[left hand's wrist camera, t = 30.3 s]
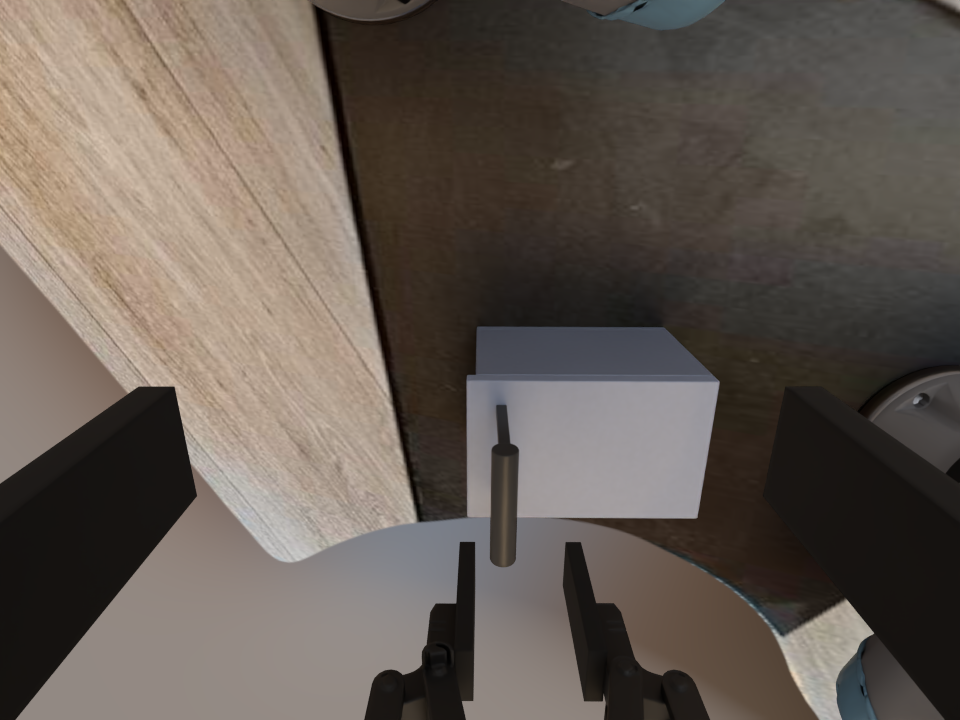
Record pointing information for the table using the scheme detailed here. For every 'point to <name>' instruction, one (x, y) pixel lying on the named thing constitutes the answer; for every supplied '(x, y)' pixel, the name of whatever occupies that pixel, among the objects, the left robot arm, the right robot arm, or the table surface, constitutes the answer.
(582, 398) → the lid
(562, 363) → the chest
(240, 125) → the table surface
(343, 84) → the table surface
